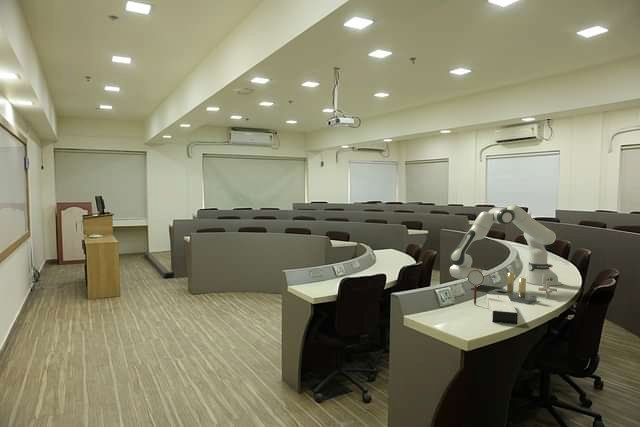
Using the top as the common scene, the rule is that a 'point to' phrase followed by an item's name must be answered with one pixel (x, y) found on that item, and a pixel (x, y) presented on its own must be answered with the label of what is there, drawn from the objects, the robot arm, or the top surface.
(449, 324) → the top surface
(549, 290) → the pipe connector
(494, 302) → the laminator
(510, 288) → the brass pin
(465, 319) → the top surface
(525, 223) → the robot arm
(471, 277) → the magnifying glass
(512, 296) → the bolt plate
